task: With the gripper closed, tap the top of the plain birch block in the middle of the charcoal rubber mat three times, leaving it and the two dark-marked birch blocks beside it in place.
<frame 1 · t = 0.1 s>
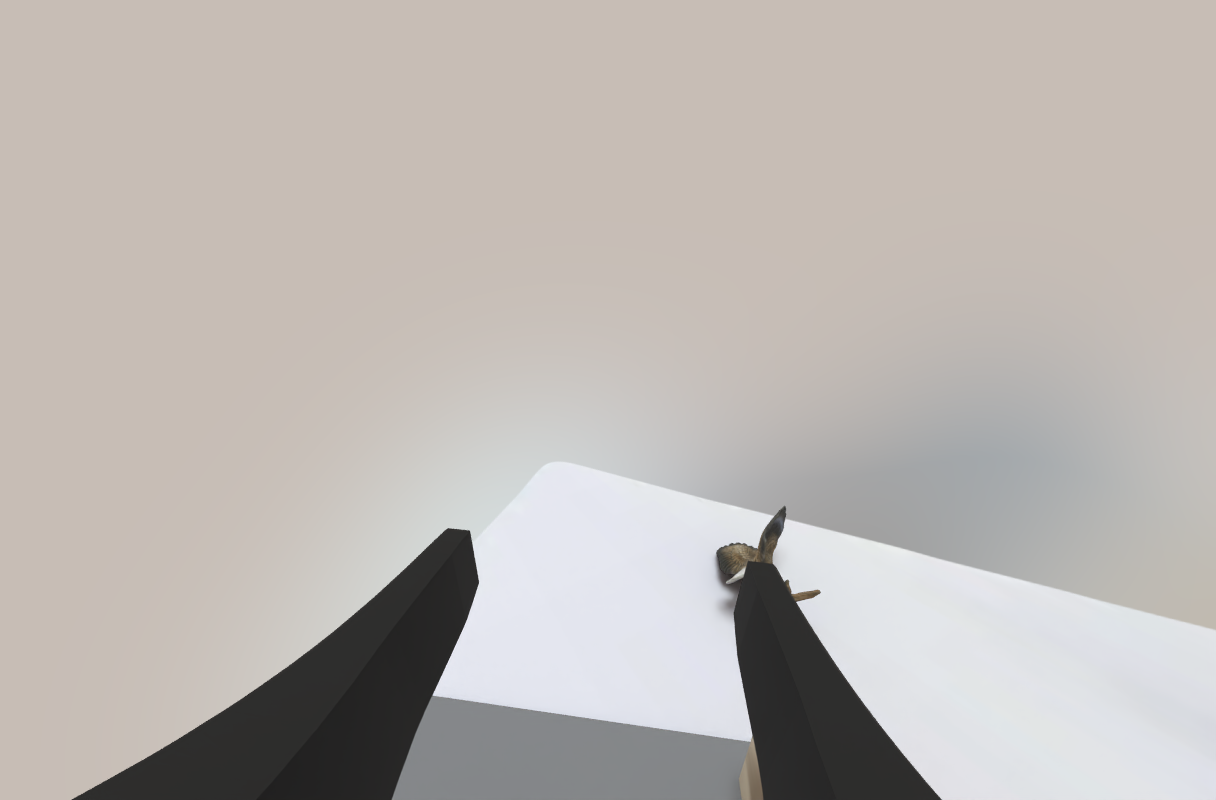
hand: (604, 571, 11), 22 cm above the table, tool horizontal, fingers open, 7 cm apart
eagle figurine: (754, 584, 39), on the table
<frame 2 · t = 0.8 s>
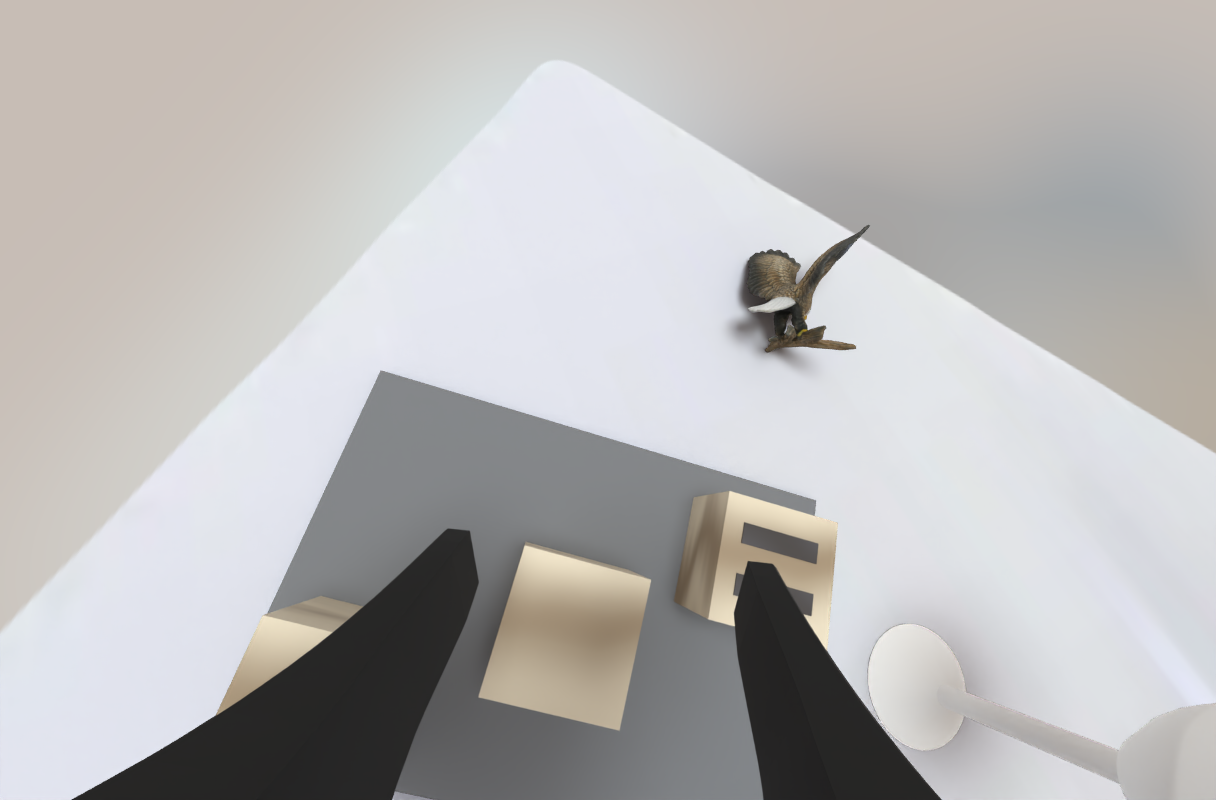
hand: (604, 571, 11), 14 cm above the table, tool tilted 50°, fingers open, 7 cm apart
two-bar birch block: (731, 560, 26), resting on charcoal rubber mat
eagle figurine: (777, 307, 32), on the table
plain birch block: (562, 612, 23), resting on charcoal rubber mat
charcoal rubber mat: (564, 601, 24), on the table
one-bar birch block: (354, 676, 21), resting on charcoal rubber mat
champagne flute: (914, 683, 26), on the table
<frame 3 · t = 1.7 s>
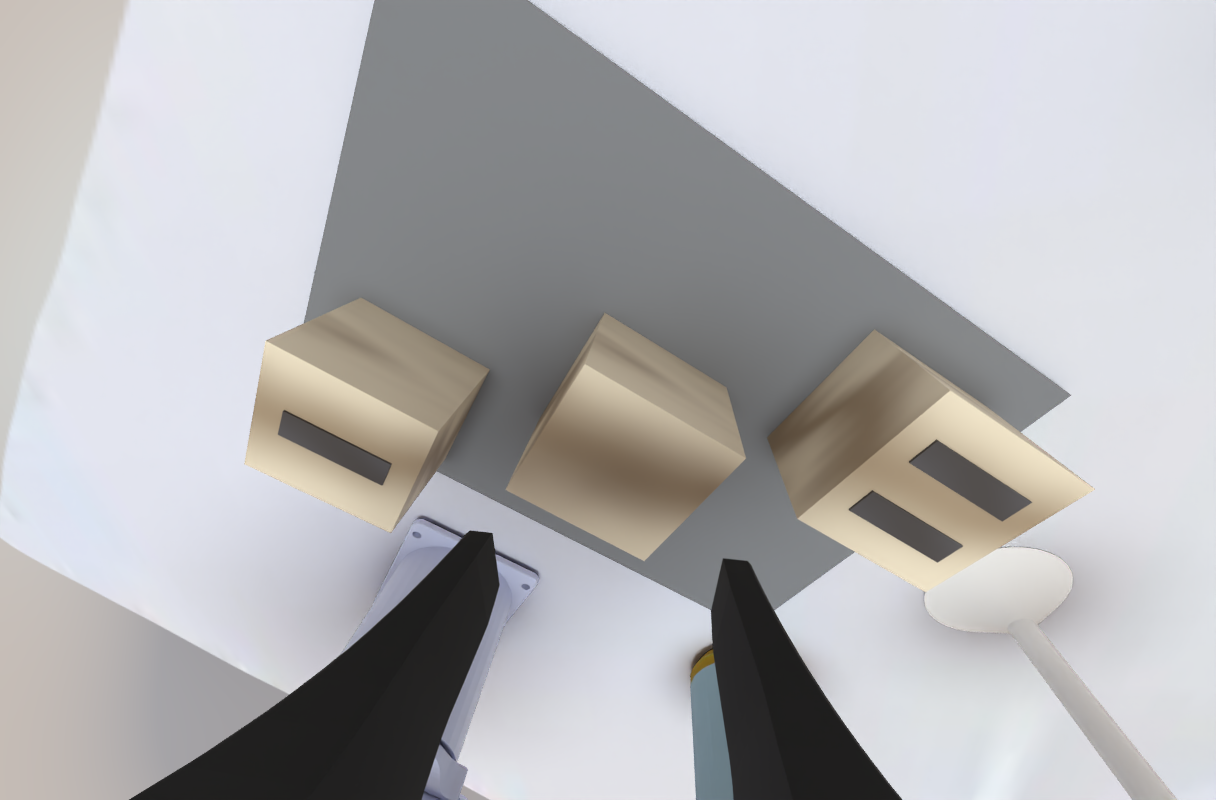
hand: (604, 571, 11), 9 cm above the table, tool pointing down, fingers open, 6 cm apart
two-bar birch block: (871, 423, 18), resting on charcoal rubber mat
plain birch block: (628, 403, 19), resting on charcoal rubber mat
charcoal rubber mat: (635, 391, 19), on the table
bottle: (743, 667, 29), on the table
one-bar birch block: (407, 386, 20), resting on charcoal rubber mat
champagne flute: (993, 589, 23), on the table
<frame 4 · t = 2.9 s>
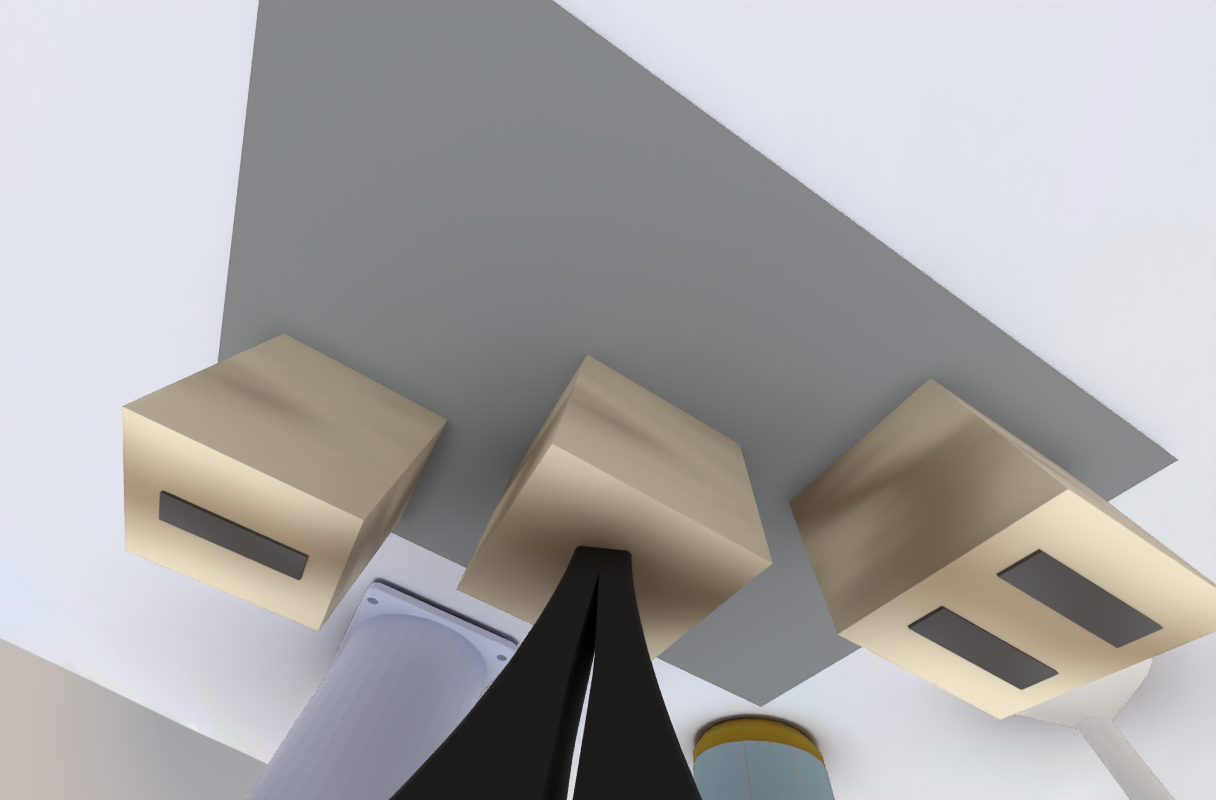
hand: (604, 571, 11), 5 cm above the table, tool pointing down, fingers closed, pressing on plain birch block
two-bar birch block: (919, 488, 15), resting on charcoal rubber mat
plain birch block: (618, 461, 16), resting on charcoal rubber mat, touching gripper
charcoal rubber mat: (626, 445, 16), on the table
bottle: (753, 742, 25), on the table
one-bar birch block: (348, 437, 16), resting on charcoal rubber mat
champagne flute: (1052, 670, 19), on the table
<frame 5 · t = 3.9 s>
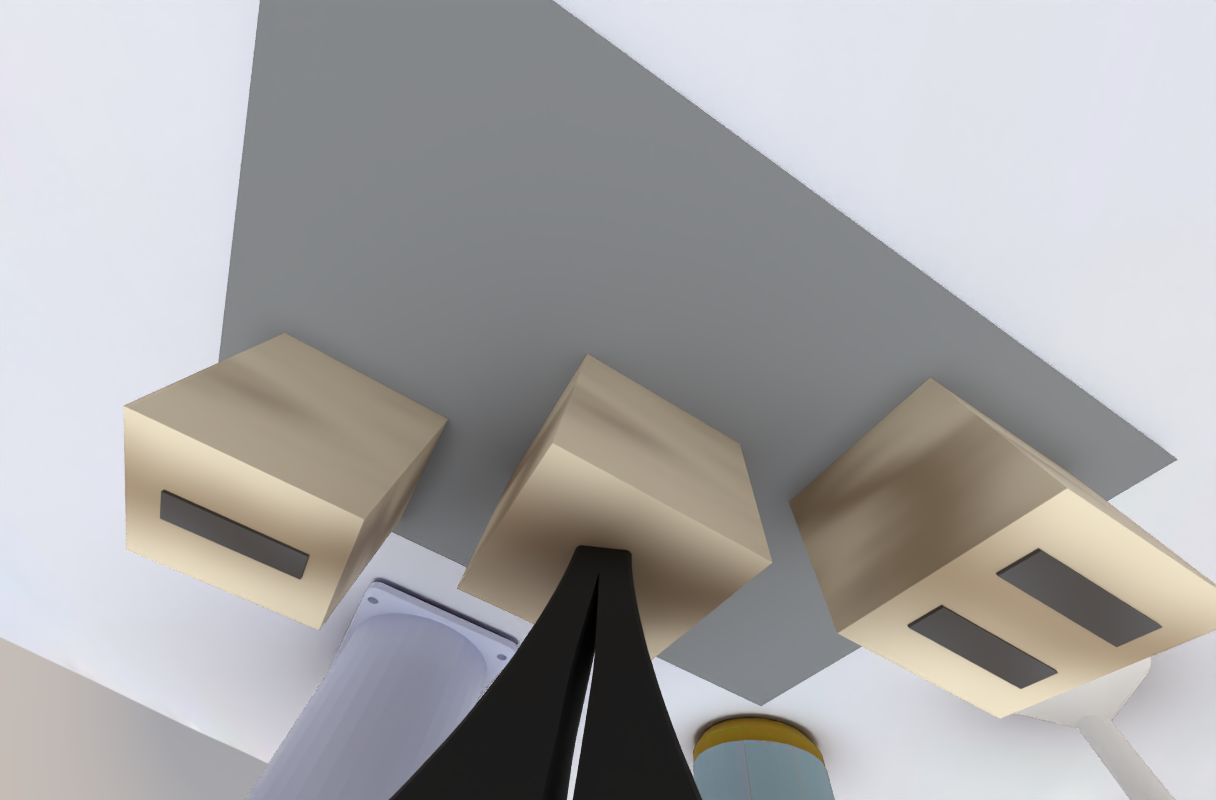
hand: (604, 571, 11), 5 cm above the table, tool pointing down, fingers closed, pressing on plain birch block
two-bar birch block: (919, 487, 15), resting on charcoal rubber mat
plain birch block: (618, 460, 16), resting on charcoal rubber mat, touching gripper
charcoal rubber mat: (627, 445, 16), on the table
bottle: (753, 741, 25), on the table
one-bar birch block: (349, 436, 16), resting on charcoal rubber mat
champagne flute: (1052, 669, 19), on the table
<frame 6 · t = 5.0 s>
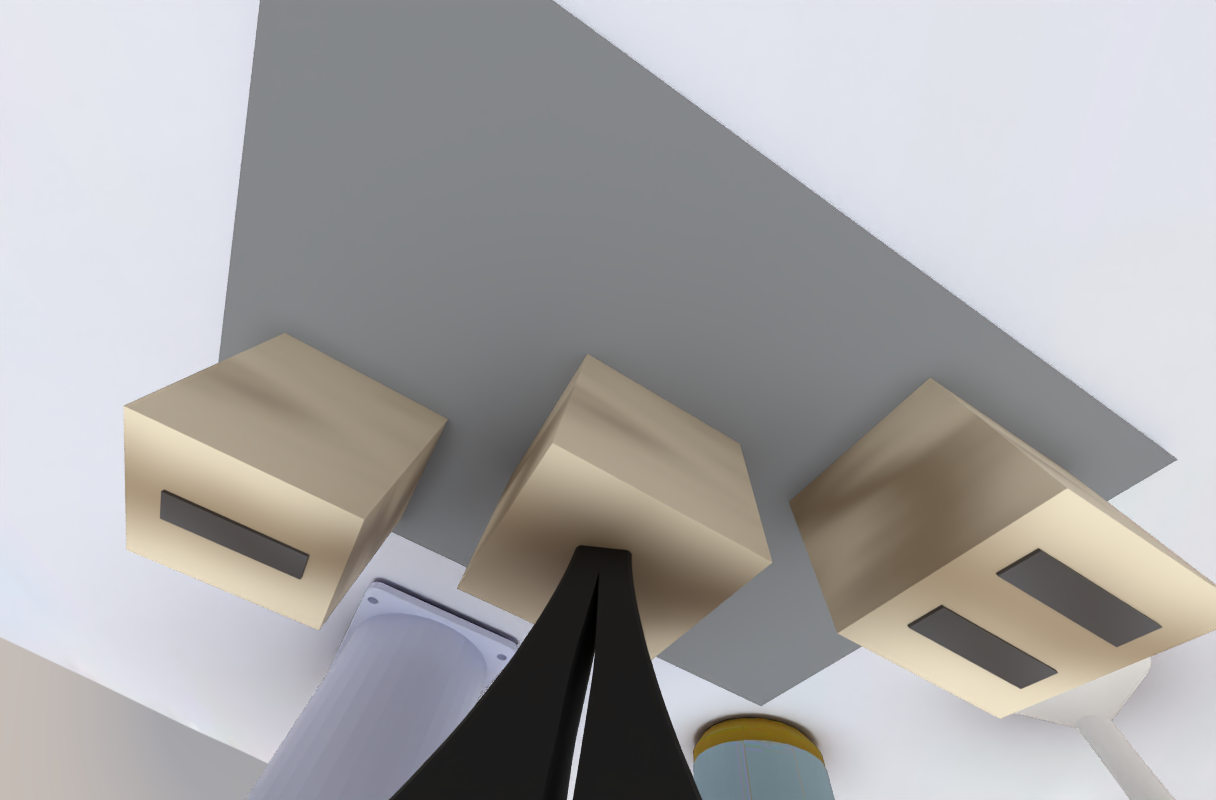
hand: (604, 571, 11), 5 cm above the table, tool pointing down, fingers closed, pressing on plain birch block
two-bar birch block: (919, 487, 15), resting on charcoal rubber mat
plain birch block: (618, 460, 16), resting on charcoal rubber mat, touching gripper
charcoal rubber mat: (627, 445, 16), on the table
bottle: (753, 741, 25), on the table
one-bar birch block: (349, 436, 16), resting on charcoal rubber mat
champagne flute: (1052, 669, 19), on the table
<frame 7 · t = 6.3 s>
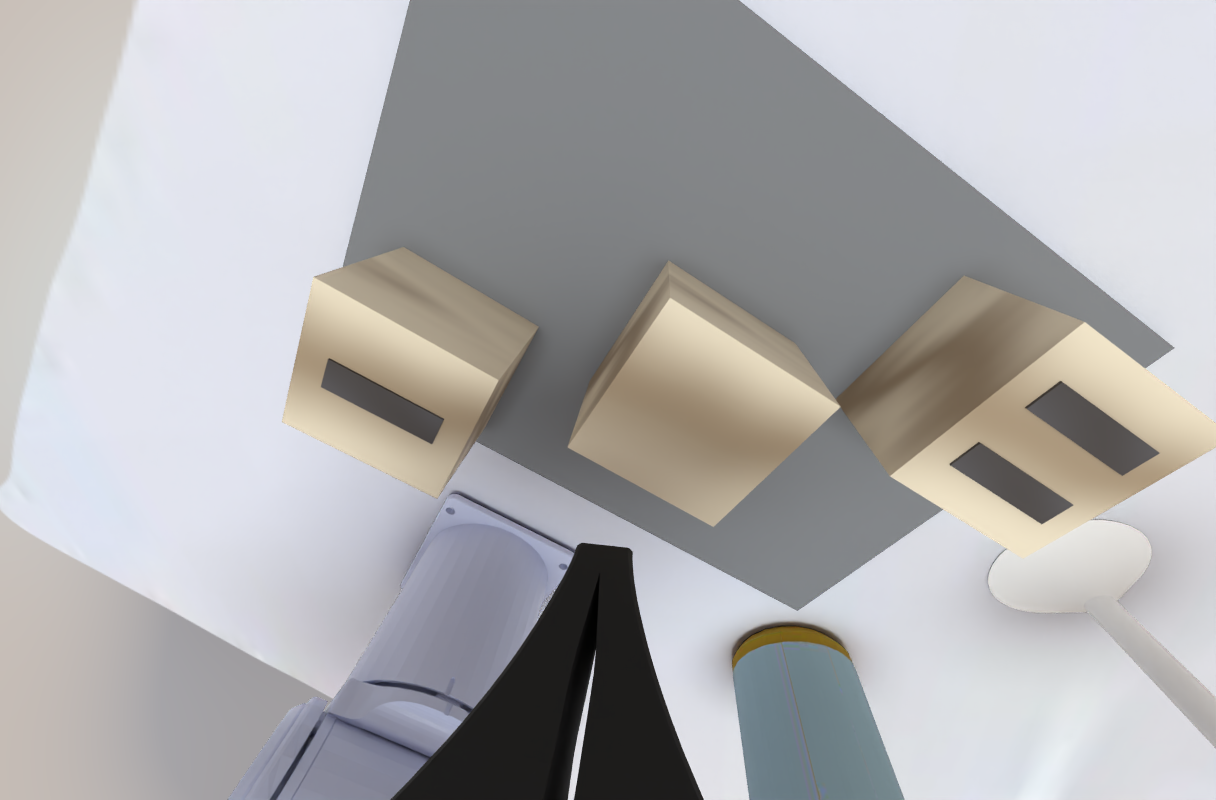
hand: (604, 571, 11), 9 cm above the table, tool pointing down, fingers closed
two-bar birch block: (950, 382, 17), resting on charcoal rubber mat
plain birch block: (687, 363, 18), resting on charcoal rubber mat
charcoal rubber mat: (693, 350, 18), on the table
bottle: (787, 652, 27), on the table
one-bar birch block: (448, 346, 19), resting on charcoal rubber mat
champagne flute: (1062, 566, 22), on the table
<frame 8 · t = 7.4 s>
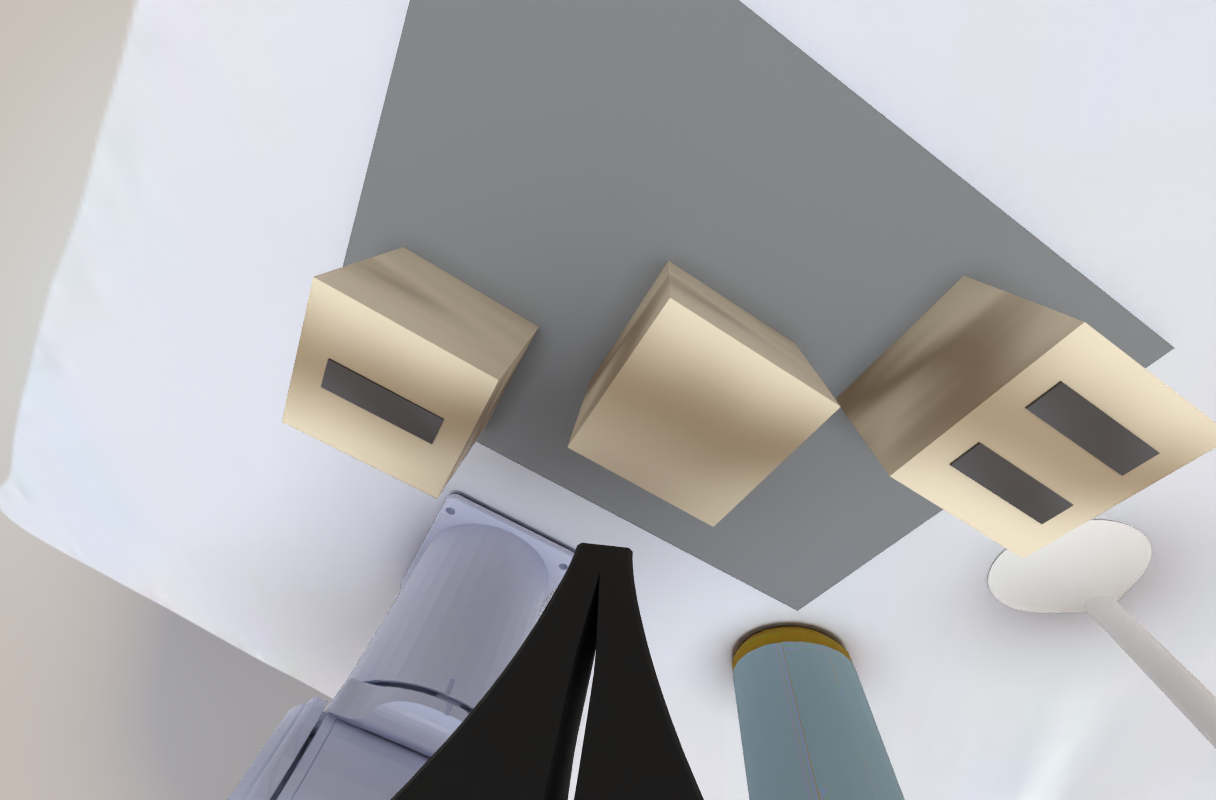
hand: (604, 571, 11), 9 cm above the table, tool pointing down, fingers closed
two-bar birch block: (950, 382, 17), resting on charcoal rubber mat
plain birch block: (687, 363, 18), resting on charcoal rubber mat
charcoal rubber mat: (693, 350, 18), on the table
bottle: (787, 652, 27), on the table
one-bar birch block: (448, 346, 19), resting on charcoal rubber mat
champagne flute: (1062, 566, 22), on the table
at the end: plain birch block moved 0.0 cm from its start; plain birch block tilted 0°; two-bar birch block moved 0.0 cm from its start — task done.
